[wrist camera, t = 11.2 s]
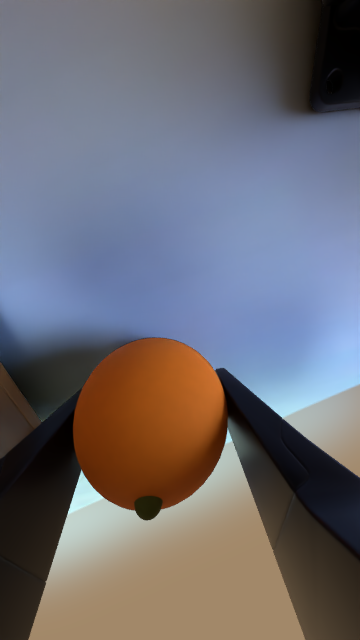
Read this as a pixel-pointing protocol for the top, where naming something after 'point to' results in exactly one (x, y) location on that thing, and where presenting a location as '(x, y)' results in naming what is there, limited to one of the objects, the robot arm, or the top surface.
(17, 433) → the drawer
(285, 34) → the top surface
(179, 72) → the top surface
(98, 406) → the orange
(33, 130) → the top surface
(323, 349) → the top surface
